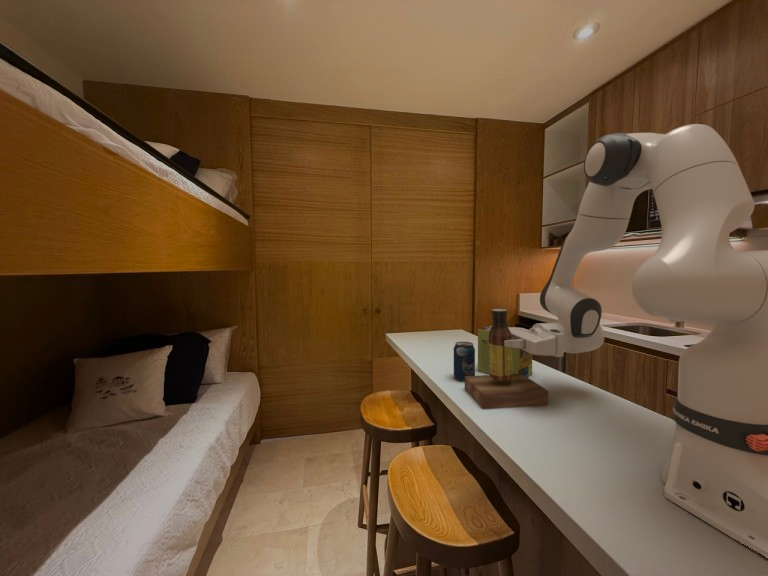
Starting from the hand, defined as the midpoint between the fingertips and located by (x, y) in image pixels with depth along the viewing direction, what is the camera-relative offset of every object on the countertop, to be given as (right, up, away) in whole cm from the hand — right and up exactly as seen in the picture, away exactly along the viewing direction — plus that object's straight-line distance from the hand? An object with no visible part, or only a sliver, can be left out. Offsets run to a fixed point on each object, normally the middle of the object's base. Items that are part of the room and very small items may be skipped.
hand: (497, 340), depth 90 cm
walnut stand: (+2, -16, +1) cm, 16 cm away
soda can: (-5, -16, +16) cm, 24 cm away
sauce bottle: (+1, -11, +1) cm, 11 cm away
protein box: (+10, -15, +22) cm, 29 cm away
